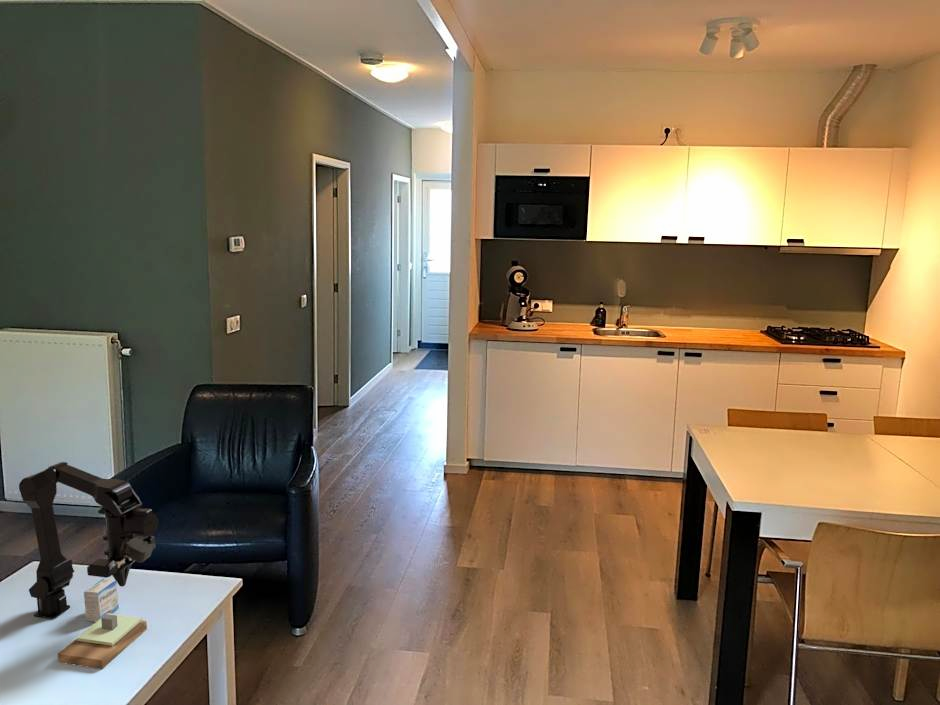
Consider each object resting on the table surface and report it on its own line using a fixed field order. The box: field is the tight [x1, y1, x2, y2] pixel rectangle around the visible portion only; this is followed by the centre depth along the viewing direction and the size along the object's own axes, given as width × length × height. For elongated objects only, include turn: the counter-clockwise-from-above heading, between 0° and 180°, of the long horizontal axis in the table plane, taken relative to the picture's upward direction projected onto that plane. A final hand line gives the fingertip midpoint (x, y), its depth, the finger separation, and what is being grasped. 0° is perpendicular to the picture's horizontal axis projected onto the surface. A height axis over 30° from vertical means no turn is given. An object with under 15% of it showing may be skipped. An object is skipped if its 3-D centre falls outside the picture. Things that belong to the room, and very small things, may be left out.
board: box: [57, 620, 148, 670], centre depth 192 cm, size 12×18×2 cm, turn 169°
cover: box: [76, 613, 143, 646], centre depth 194 cm, size 10×12×4 cm
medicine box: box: [83, 578, 119, 623], centre depth 206 cm, size 8×4×9 cm, turn 168°
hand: (122, 585), depth 198 cm, fingers closed
